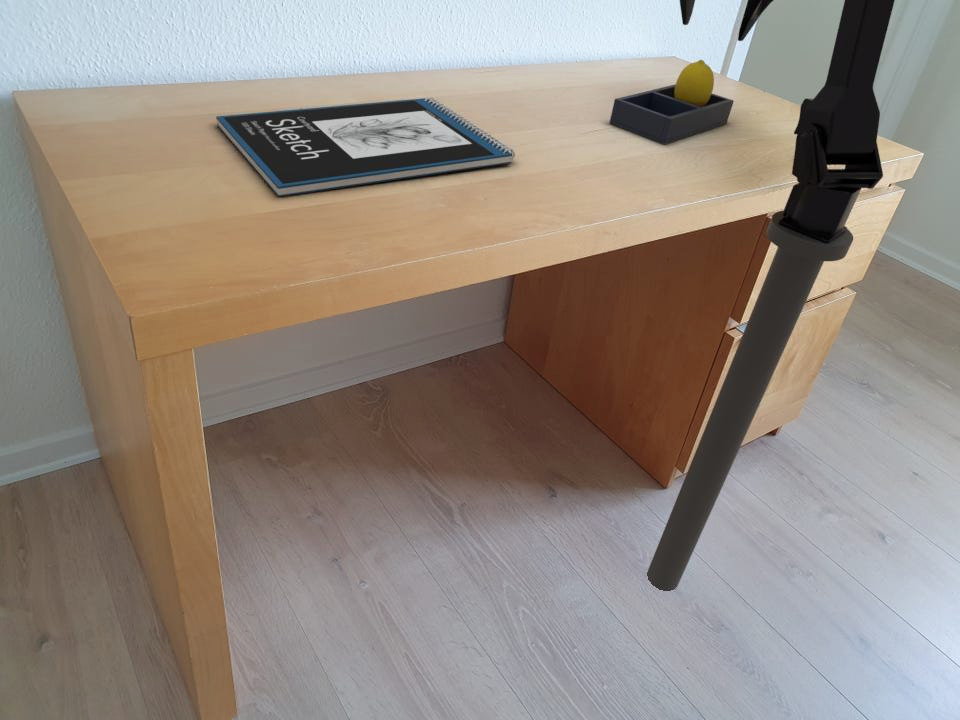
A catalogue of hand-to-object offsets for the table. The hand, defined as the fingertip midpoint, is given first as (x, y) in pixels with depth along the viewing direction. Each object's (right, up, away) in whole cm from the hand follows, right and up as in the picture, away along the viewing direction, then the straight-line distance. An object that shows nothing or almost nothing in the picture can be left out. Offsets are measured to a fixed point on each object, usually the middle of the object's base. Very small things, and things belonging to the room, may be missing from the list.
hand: (712, 32), depth 106 cm
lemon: (-2, -11, +5) cm, 12 cm away
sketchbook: (-48, -22, -18) cm, 56 cm away
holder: (-6, -13, +3) cm, 14 cm away
